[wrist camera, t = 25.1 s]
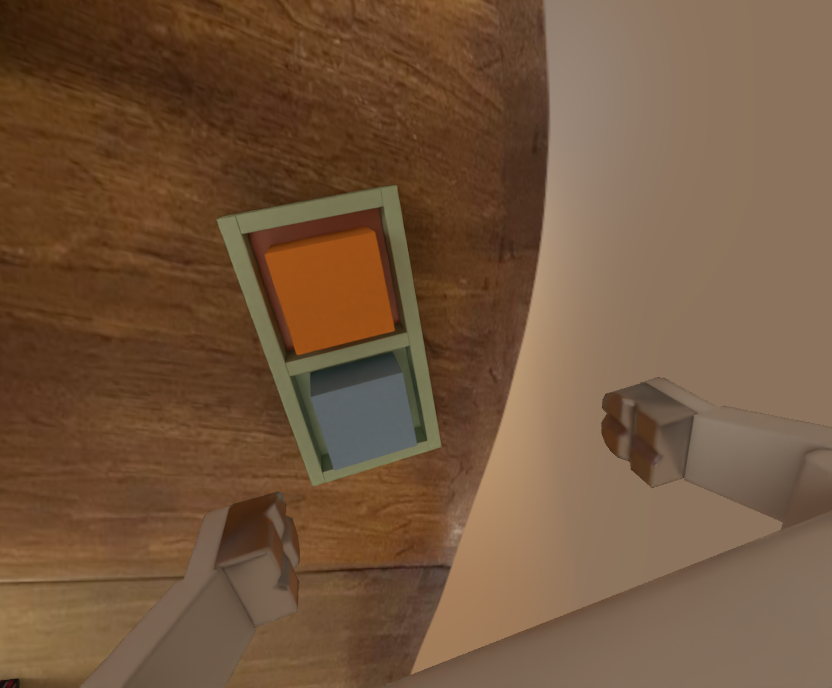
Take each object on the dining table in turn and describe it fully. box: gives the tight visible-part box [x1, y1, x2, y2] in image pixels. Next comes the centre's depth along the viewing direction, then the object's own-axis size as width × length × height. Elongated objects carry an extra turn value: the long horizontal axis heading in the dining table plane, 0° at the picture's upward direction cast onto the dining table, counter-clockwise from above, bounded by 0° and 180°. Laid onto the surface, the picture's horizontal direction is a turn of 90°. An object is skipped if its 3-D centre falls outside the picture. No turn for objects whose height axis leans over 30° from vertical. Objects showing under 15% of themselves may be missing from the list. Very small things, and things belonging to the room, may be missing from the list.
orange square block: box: [265, 226, 395, 355], centre depth 24 cm, size 6×6×4 cm
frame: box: [217, 185, 441, 486], centre depth 27 cm, size 10×19×3 cm, turn 10°
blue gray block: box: [310, 352, 417, 470], centre depth 28 cm, size 6×6×4 cm
